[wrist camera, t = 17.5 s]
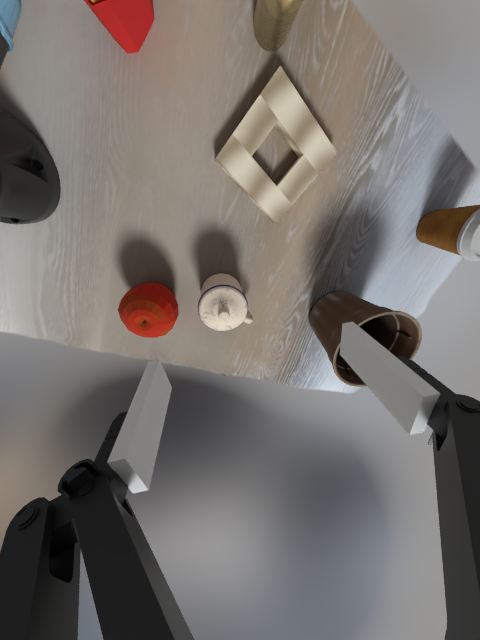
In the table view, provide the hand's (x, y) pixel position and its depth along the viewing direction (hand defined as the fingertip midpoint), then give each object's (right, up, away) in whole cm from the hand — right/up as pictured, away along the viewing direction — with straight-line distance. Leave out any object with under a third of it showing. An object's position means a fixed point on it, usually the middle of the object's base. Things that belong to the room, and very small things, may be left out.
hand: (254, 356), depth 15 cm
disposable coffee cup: (+39, +22, +30) cm, 54 cm away
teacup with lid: (-4, +8, +32) cm, 33 cm away
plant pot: (+22, +4, +37) cm, 43 cm away
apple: (-19, +7, +30) cm, 36 cm away
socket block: (+5, +30, +21) cm, 37 cm away
